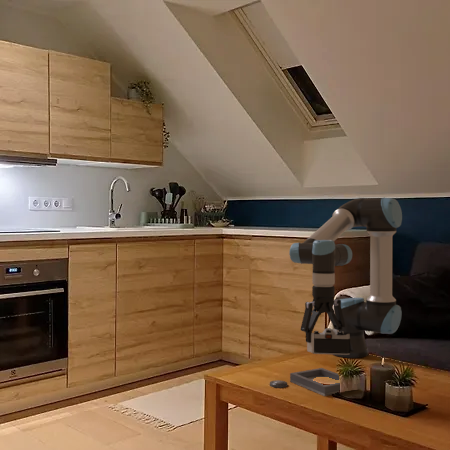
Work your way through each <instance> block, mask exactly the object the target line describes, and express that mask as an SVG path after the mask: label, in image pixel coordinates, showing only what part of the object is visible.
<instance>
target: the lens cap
mask: <svg viewBox="0 0 450 450" xmlns="http://www.w3.org/2000/svg"><path fill="white" fill-rule="evenodd" d="M269 387H271V388H275V389H284V388H287V387H288V382H287V381H285V380H279V379H278V380H272V381H270V382H269Z"/></svg>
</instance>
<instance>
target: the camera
mask: <svg viewBox="0 0 450 450" xmlns="http://www.w3.org/2000/svg"><path fill="white" fill-rule="evenodd" d="M332 329H333V328H332V327H327V328H325V329H324V330H323V331H322V332H319V330H314V332H313V333H314V353H312V354H313V355H333V354H334V355H333V356H335V355H350V334H349V333H347V332H343V331H342V332H337V333H335V332H334V331H333V330H332Z"/></svg>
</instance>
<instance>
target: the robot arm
mask: <svg viewBox="0 0 450 450" xmlns="http://www.w3.org/2000/svg"><path fill="white" fill-rule="evenodd" d="M402 213H403V211H402V208H401V206H400V204H399V201H398V200H397V199H395V198H392V197H359V198H355V199H352V200H349V201H347V202H346V203H344V204H342V205H340V206H339V207H338V208H337V209H336V210H334V212H333V213H332V217H330V218H329V219H328V220H327V221H326V222H325V223H323V224H322V226H320V227H319V228H318V229H317V230H316V231H314V232H313V233H312V234H311V235H310V236H309V237H307V238H306V239H305V240H304V241H303V242H294V243H292V244H291V245H290V248H289V258H290V260H291V262H292V263H295V264H300V265H302V264H303V265H304V264H306V265H312V273H311V274H312V280H311V281H312V287H311V288H312V289H311V290H312V291H311V292H312V293H311V295H312V301H310V302H309V301H305V304H304V306H305V308H304V309H305V310H304V313H303V317H302V322H301V326H300V331H302V332H303V333H305V342H306V351H307V352H309V353H311V354H313V353H314V332H313V330H314V328H315V327H316V324H317V322H318V319H319V317H320V316H321V315H322V314H324V313H327V316H328V318H329V320H330V322H331V325H332V326H333V328H331V329H332V330H333V331H334V332H335V333H337V332H342V331H343V332H347V333H349V334H350V355H334V354H332V355H333V356H334V357H335V356H336V357H339V358H350V359H351V358H352V359H359V358H364V357H367V356H369V347H368V345H367V342H366V338H365V332H371V333H379V334H382V335H384V334H386V335H387V334H389V335H393V334H394V333H396V332H397V330H398V328H399V326H400V325H401V320H402V314H403V313H402V307H401V306H400V305H398V304H397V299H396V298H395V297H394V296H393V236H394V235H395V234H396V233H397V228H399V227H401V226H402V221H403V214H402ZM357 227H365V228H366V232H367V233H368V235H369V236H370V241H369V242H370V244H369V245H370V250H369V254H370V256H369V257H370V259H369V260H370V261H369V263H370V264H369V265H370V269H369V276H370V277H369V281H370V282H369V296H367V298H366V300H365V298H364V297H345V298H340V299H338V298H336V299H335V288H336V287H335V286H334V285H335V283H336V282H335V281H336V275H335V273H336V271H335V270H336V269H335V267H338V266H341V267H342V266H344V265H347V264H349V263H350V262H351V261H352V259H353V251H352V249H351V247H350V246H349V245H347V244H345V243H344V244H343V243H338V244H337V243H335V241H336V240H338V238H339V237H340V236H342V235H343V233H345V232H346V231H347V232H348V231H350V230H351V229H353V228H357Z"/></svg>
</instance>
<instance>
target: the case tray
mask: <svg viewBox="0 0 450 450" xmlns="http://www.w3.org/2000/svg"><path fill="white" fill-rule="evenodd" d="M338 374H339V373H337V372H334V371H331V370H329V369H327V368H323V367H319V368H313V369H307V370H301V371H300V370H299V371H295V372H290V373H289V375H290V376H289V382H290V383H292V384H295V385H297V386H300V387H301V388H304V389H306V390H308V391H312V392H314V393H316V394H319V395H321V396H322V397H328V396H333V395H332V394H334V395H336V394H335V393H337V392H339V390H340V383H335V384H330V385H323V384H321V383H318V382H316V381H313V379H314V378H316V377H329V378H332V379H335V380H339V375H338Z"/></svg>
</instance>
